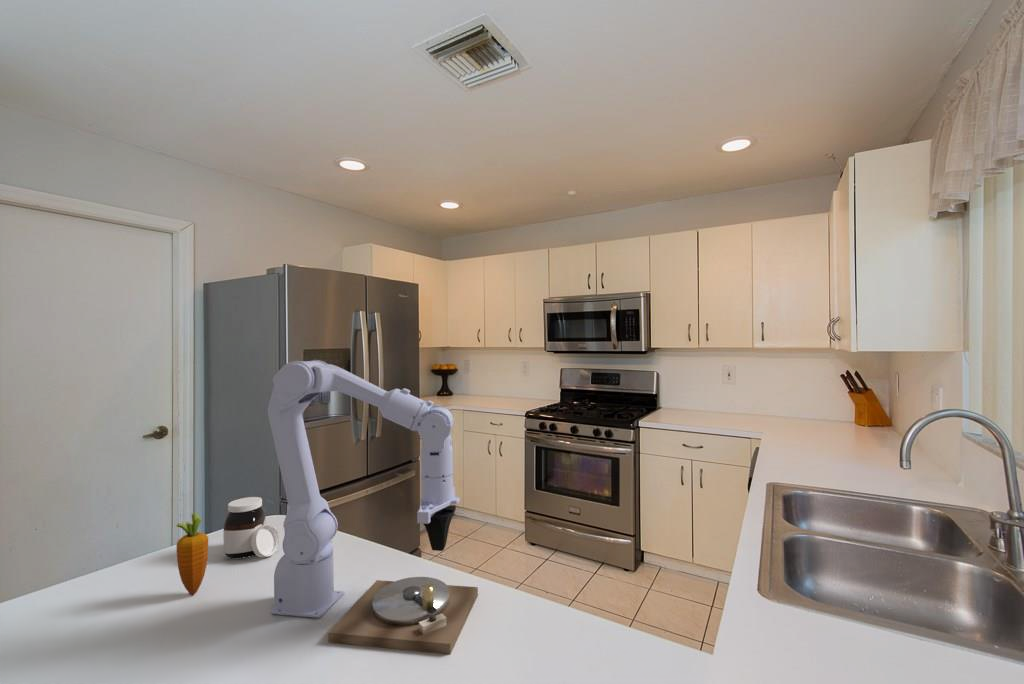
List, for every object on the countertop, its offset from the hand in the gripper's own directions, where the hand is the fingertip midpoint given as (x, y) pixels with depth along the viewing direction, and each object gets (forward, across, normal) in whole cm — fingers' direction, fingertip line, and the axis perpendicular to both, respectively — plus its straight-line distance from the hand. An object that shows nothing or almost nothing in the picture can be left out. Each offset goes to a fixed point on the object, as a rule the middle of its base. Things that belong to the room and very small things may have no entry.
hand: (438, 549), depth 83 cm
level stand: (+9, -6, +3) cm, 11 cm away
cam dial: (+8, -4, +4) cm, 9 cm away
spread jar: (+10, +13, +50) cm, 52 cm away
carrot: (+10, -5, +47) cm, 49 cm away
